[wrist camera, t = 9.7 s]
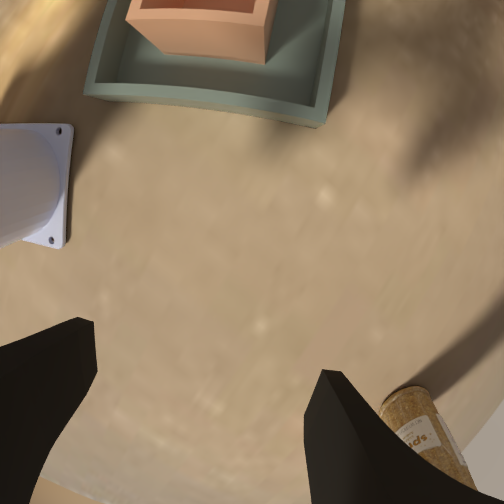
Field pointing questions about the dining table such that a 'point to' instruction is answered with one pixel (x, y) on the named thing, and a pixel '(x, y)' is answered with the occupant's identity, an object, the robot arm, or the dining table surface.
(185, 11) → the small crate
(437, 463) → the sprinkles bottle
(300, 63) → the base crate
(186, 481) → the dining table surface
